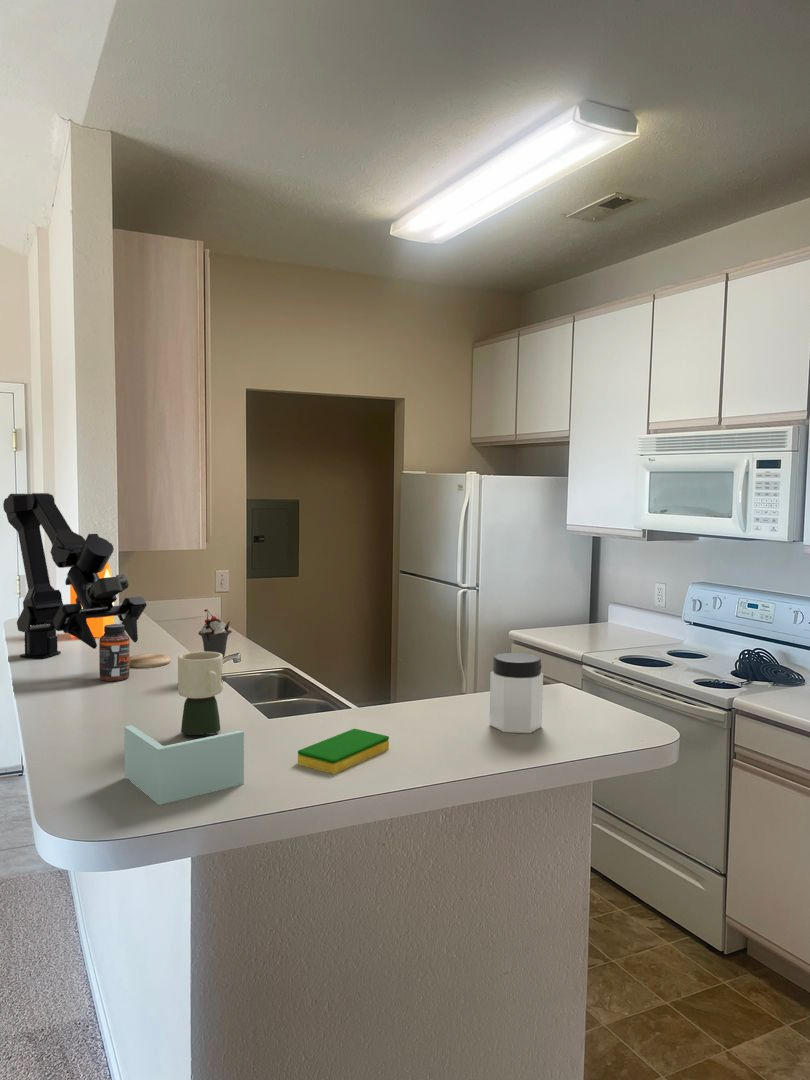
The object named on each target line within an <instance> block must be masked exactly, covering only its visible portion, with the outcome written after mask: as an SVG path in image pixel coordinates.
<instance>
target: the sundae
mask: <svg viewBox="0 0 810 1080" xmlns="http://www.w3.org/2000/svg"><path fill="white" fill-rule="evenodd" d="M204 612H205V613H206V616H207V617H206V619H205V620H204V623H205V624H203V626H201V629H200V630H199V631H198V633H197V635H199V636H201V640H202V644H203V652H217V653H221V654H222V655H223V659H224V658H225V656H226V652H227V651H226V650H227V643H228V642H227V641H228V637H229V635H230V634H231V633H233V632H232V630H230V629H229V627H230V624H231V622H230V621H228V622H227V623H226V624H224V623H225V622H223V621H222V620H221V619H219V618H218V617H217V616H214V615H213V614H211V613H210V611H209V610H208V608H207V609H204ZM209 615H210V616H211V617H210V619H209ZM227 679H228V678H227V676H225V675H222V680H223V681H222V682H224V681H227Z"/></svg>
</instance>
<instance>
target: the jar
mask: <svg viewBox="0 0 810 1080" xmlns="http://www.w3.org/2000/svg"><path fill="white" fill-rule="evenodd" d="M492 664H493V666H492V671H490V679H489V680H490V683H489V686H490V687H489V726H491V727H493V728H495V729H496V730H498V731H501V732H503V733H511V734H512V733H514V734H531V733H533V732H535V731H537V730H538V729H540V728H542V727H543V700H544V698H543V696H544V695H543V693H544V673H543V672H542V671H541V670H542V658H541V657H539V656H537V655H535V654H529V653H523V652H522V653H521V652H506V653H505V652H504V653H498V654H495V655H494V656H493V661H492Z"/></svg>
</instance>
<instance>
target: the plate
mask: <svg viewBox="0 0 810 1080" xmlns="http://www.w3.org/2000/svg"><path fill="white" fill-rule="evenodd" d="M170 663H171V657H170V656H169V655H167V654H160V653H159V654H158V653H157V654H156V653H155V654H154V653H148V654H147V653H145V654H137V655H131V656H129V668H135V669H149V668H158V667H164V666H167V665H169V664H170Z"/></svg>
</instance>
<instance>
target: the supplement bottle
mask: <svg viewBox="0 0 810 1080" xmlns="http://www.w3.org/2000/svg"><path fill="white" fill-rule="evenodd" d="M104 632H105V633H104V635H103V636H101V637H100V638H99V645H98V646H99V655H98V656H99V659H98V660H99V679H100V680H102V681H104V682H105V681H106V682H118V681H119V682H120V681H124V680H126V679H128V678H129V677H130V667H129V657H130V637H129V635H128V634H127V633H126V631H125V627H124V625H123V624H121V623H114V624H109V625H105V626H104Z"/></svg>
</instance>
